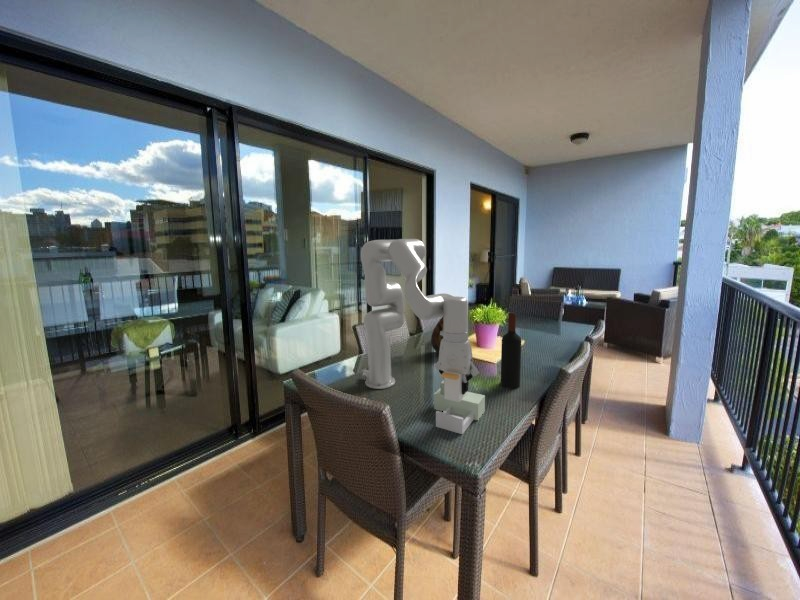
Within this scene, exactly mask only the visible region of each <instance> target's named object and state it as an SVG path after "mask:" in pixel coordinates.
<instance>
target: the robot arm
mask: <svg viewBox="0 0 800 600" xmlns="http://www.w3.org/2000/svg"><path fill="white" fill-rule="evenodd" d="M426 255H427V248H426V246H425V244H424V242H423V241H421V240H420V239H418V238H399V239H375V240H370V241H367V242H365V243H364V244H363V246H362V247H361V251H360V261H361V265H362V268H363V272H364V285H365V287H364V290H365V297H366V298H365V299H366V303H367V305H368V306H370V307H372V308H373V307H375V308H376V307H382V306H387V307H385V308H378V309H372V310H370V311H369V312H367V313H365V315H364V316H363V326H364V329H365V334H366V345H367V346H366V347H367V364H368V365H367V366H368V367H367V368H368V369H364V370H363V372H362V377H366V380H365V386H366V387H367V388H370V389H375V390H383V389H388V388H390V387H393V386H394V385H395V383H396V379H395V377H393V376H392V361H391V359H392V357H391V341H390V339H389V337H388V336H387V335H386V334H387V333H386V332H389V331H393V330H397V329H400V328H401V327H402V326H403V325H404V323H405V301H404V300H406V303H407V304H408V306H409V307H410V309H411V310H412V313H414V315H415V316H416V317H417V318H419V319H420V320H424V321H428V320H433V319H437V318H442V317H444V330H443V331H440V335H442V336H443V338H444V339H442V340H441V344H440V350H439V356H438V361H437V362H436V363H435V364H434V368H435V369H436V370H437V371H438V373H439V374H440V375H441V374H442V373H443V372H445V371H447V372H453V373H458V374H462V378H463V382H462V394H465V393H466V392H469V382H470V380H472V379H473V378H474V377H475V376H477V375H478V374H479V373H480V372H479V369H477V367H476V366H475V364H474V363H473V362H474V359H473V350H472V345H471V341H470V340H469V302H468V299H467V298H466V297H463V296H453V295H451V294H449V293H437V294H430V295H424V294H423V292H422V291H421V289H420V287H419V286H418V283H419V282H420V281H421V280H423V278H424V277H425V276H426V275H427V271H428V268H427V266H426V264H425V263H424V262H423V259H424V258H425V257H426ZM384 262H385V263H386V262H388V263H389V262H393V264H394V265H395V267H396V268H397V270H398V271H399V272H400V274H401V276H402V277H403V279H404V280H405V282H404V286H403V287H404V290H403V289H402V286H401V285H400V283H398V282H396V281H387V277H386V276H387V275H386V270H385V268H384V266H383V265H382V264H381V263H384ZM403 291H404V292H403ZM404 297H405V299H404ZM470 372H471V373H470ZM469 373H470V374H469Z"/></svg>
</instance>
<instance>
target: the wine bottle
mask: <svg viewBox="0 0 800 600" xmlns="http://www.w3.org/2000/svg"><path fill="white" fill-rule="evenodd" d="M507 316H508V323H507V324H508V325H507V327H508V329H507V333H504V334H503V336H502V337H501V349H500V350H501V351H500V352H501V356H500V358H501V359H500V386H502V387H503V388H505V389H511V390H512V389H514V390H515V389H518V388H520V387H521V367H522V366H521V365H522V337H520V335H519V334H518V333H517V332H516V331H517V330H516V328H517V327H516V322H517V313H516V312H514V311H513V312H508V315H507Z"/></svg>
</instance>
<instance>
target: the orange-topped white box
mask: <svg viewBox="0 0 800 600" xmlns="http://www.w3.org/2000/svg"><path fill="white" fill-rule="evenodd" d="M440 375H441V378H443V380H444V399H447V400H452V401H456V402H460V401H461V400H462V399H463V398H464V397H465V396H466V395H467V392H468V391H467V392H466V393H465V394H462V382H463V378H462V374H458V373H453V372H447V371H445V372H443V373H442V374H440Z"/></svg>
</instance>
